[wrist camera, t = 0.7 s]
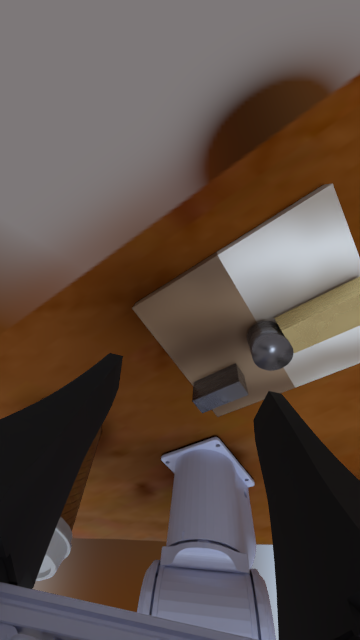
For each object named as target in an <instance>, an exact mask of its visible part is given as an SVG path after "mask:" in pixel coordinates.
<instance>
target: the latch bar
mask: <svg viewBox="0 0 360 640" xmlns="http://www.w3.org/2000/svg"><path fill="white" fill-rule="evenodd" d="M274 319H275V320H276V322H277V323H275V322H273V321H260V322H258V323H256V324H254V325H253V326H252V327H251V328H250V329H249V331H248V333H247V341H248V345H249V348H250V352H251V355H252V359H253V361H254V363H255V364H256V365H257V366H258V367H259V368H261V369H263V370H268V371H274V370H279V369H281V368H283V367H285V366H286V365H288V364H289V363H290V361H291V360H292V358H293V353H297V352H299V351H301V350H304V349H306V348H308V347H311V346H313V345H315V344H318V343H320V342H322V341H325V340H327V339H329V338H332V337H334V336H336V335H339V334H341V333H343V332H346V331H348V330H351V329H353V328H355V327H358V326H360V277H358V278H356V279H354V280H352V281H349V282H347V283H345V284H343V285H341V286H339V287H337V288H335V289H333V290H331V291H329V292H327V293H325V294H323V295H321V296H319V297H317V298H315V299H313V300H310V301H308V302H306V303H304V304H302V305H300V306H298V307H296V308H294V309H292V310H290V311H288V312H286V313H284V314H282V315H280V316H278V317H276V318H274Z"/></svg>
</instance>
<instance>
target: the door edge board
mask: <svg viewBox="0 0 360 640" xmlns="http://www.w3.org/2000/svg"><path fill="white" fill-rule="evenodd" d="M358 277H360V258H359V255H358V252H357V249H356V247H355V244H354V241H353V238H352V236H351V233H350V230H349V227H348V225H347V222H346V219H345V217H344V214H343V211H342V208H341V206H340V203H339V200H338V197H337V195H336V192H335V189H334V186H333V184H326V185H323V186H321V187H319V188H318V189H316V190H315V191H313V192H312V193H310V194H308V195H307V196H305V197H304V198H302V199H300V200H299V201H297V202H296V203H294V204H292V205H291V206H289V207H288V208H286V209H284V210H283V211H281V212H280V213H278V214H276V215H275V216H273V217H272V218H270V219H269V220H267V221H265V222H264V223H262V224H261V225H259V226H257V227H256V228H254V229H253V230H251V231H249V232H248V233H246V234H245V235H243V236H241V237H240V238H238V239H237V240H235V241H234V242H232V243H230V244H229V245H227V246H226V247H224V248H222V249H221V250H219V251H218V252H216V253H214V254H213V255H211V256H210V257H208V258H206V259H205V260H203V261H202V262H200V263H198V264H197V265H195V266H194V267H192V268H191V269H189V270H187V271H186V272H184V273H183V274H181V275H179V276H178V277H176V278H175V279H173V280H171V281H170V282H168V283H167V284H165V285H163V286H162V287H160V288H159V289H157V290H156V291H154V292H152V293H151V294H149V295H148V296H146V297H144V298H143V299H141V300H140V301H138V302H136V303H135V305H134V306H133V308H132V309H133V310H134V312H135V313H136V314H137V315H138V317H139V318H140V319H141V321H142V322H143V323H144V324H145V326H146V327H147V328H148V329H149V331H150V332H151V333H152V334H153V336H154V337H155V338H156V340H157V341H158V342H159V343H160V345H161V346H162V347H163V348H164V350H165V351H166V352H167V353H168V355H169V356H170V357H171V359H172V360H173V361H174V362H175V364H176V365H177V366H178V367H179V369H180V370H181V371H182V373H183V374H184V375H185V376H186V378H187V379H188V380H189V381H190V383H191V384H192V385H193V384H194V382H195V381H197V380H199V379H202V378H204V377H206V376H208V375H210V374H213V373H215V372H217V371H219V370H222V369H224V368H226V367H228V366H230V365H233V364H235V363H236V364H237V365H238V367H239V368H240V370H241V371H242V373H243V374H244V376H245V381H246V385H247V390H248V394H249V395H247V396H244V397H242V398H239V399H237V400H234V401H232V402H229V403H227V404H224V405H222V406H219V407H216V408H214V409H212V411H213V412H214V413H215V414H216V416H217V417H219V416H222V415H224V414H227V413H229V412H232V411H235V410H237V409H240V408H243V407H245V406H248V405H250V404H253V403H256V402H258V401H261V400H264V399H265V397H266V395H267V393H268V391H272V392H276V393H282V392H285V391H287V390H290V389H293V388H295V387H298V386H301V385H303V384H306V383H308V382H311V381H314V380H316V379H319V378H322V377H324V376H327V375H329V374H332V373H335V372H337V371H340V370H343V369H345V368H348V367H351V366H353V365H356V364H358V363H360V326H358V327H355V328H353V329H351V330H348V331H346V332H343V333H341V334H339V335H336V336H334V337H332V338H329V339H327V340H325V341H322V342H320V343H318V344H315V345H313V346H311V347H308V348H306V349H304V350H301V351H299V352H297V353H293V358H292V360H291V361H290V363H289V364H288V365H286V366H285V367H283V368H281V369H279V370H274V371H268V370H263V369H261V368H259V367H258V366H257V365H256V364H255V363H254V361H253V359H252V355H251V352H250V348H249V345H248V341H247V333H248V331H249V329H250V328H251V327H252V326H253V325H254V324H256V323H258V322H260V321H273V322H275V323H277V322H276V320H275V319H274V318H276V317H278V316H280V315H282V314H284V313H286V312H288V311H290V310H292V309H294V308H296V307H298V306H300V305H302V304H304V303H306V302H308V301H310V300H313V299H315V298H317V297H319V296H321V295H323V294H325V293H327V292H329V291H331V290H333V289H335V288H337V287H339V286H341V285H343V284H345V283H347V282H349V281H352V280H354V279H356V278H358Z"/></svg>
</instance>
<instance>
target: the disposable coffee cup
mask: <svg viewBox="0 0 360 640" xmlns="http://www.w3.org/2000/svg"><path fill="white" fill-rule="evenodd" d="M101 432H102V427H100V429H99V431H98V433H97V435H96V437H95V439H94V440H93V442H92V444H91V446H90V448H89V450H88V452H87V454H86V456H85V458H84V460H83V463H82V465H81V467H80V470H79V472H78V474H77V477H76V479H75V482H74V484H73V486H72V489H71V491H70V494H69V496H68V499H67V501H66V504H65V506H64V509H63V511H62V514H61V516H60V519H59V521H58V524H57V526H56V529H55V531H54V534H53V536H52V539H51V542H50V544H49V547H48V549H47V552H46V555H45V557H44V560H43V563H42V565H41V568H40V571H39V573H38V576H37V579H36V581H41V580H44V579H48V578H51V577H52V576H53V575H54V574H55V572H56V570H57V569H58V567H59V565H60V564H61V562H62V560H63V559H65V558H66V557H67V556H68V555H69V554H70V550H71V546H72V545H71V539H72V529H73V525H74V522H75V518H76V515H77V512H78V509H79V505H80V502H81V499H82V495H83V492H84V488H85V486H86V481H87V479H88V475H89V472H90V468H91V465H92V462H93V458H94V455H95V451H96V448H97V445H98V441H99V438H100V435H101Z"/></svg>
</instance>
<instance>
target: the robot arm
mask: <svg viewBox="0 0 360 640" xmlns="http://www.w3.org/2000/svg"><path fill="white" fill-rule="evenodd" d="M122 358H123V356H120V355H116V354H112V353H110V354H108V355H107V356H105V357H104V358H103V359H102V360H101V361H99V362H98V363H97V364H95V365H94V366H93V367H92V368H90V369H89V370H87V371H86V372H85V373H83V374H82V375H81V376H79V377H78V378H76V379H75V380H73V381H72V382H70V383H69V384H67V385H66V386H64V387H63V388H61V389H59V390H58V391H56V392H54V393H53V394H51V395H49V396H48V397H46V398H44V399H42V400H40V401H38V402H36V403H35V404H32V405H30V406H28V407H26V408H24V409H22V410H20V411H18V412H16V413H14V414H12V415H9V416H7V417H5V418H2V419H0V640H276V638H275V630H274V623H273V617H272V611H271V606H270V601H269V595H268V591H267V587H266V584H265V581H264V580H263V578H262V577H261V576H260V575H259V572H258V571H257V570H256V569H251V567H252V565H253V562H254V558H255V552H256V540H255V533H254V526H253V520H252V513H251V506H250V499H249V492H248V487H251V486H254V484H255V483H254V480H253V479H252V478H251V476H250V475H249V474H248V473H247V472H246V470H245V469H244V468H243V467H242V466H241V464H240V463H239V462H238V461H237V459H236V458H235V457H234V456H233V455H232V453H231V452H230V451H229V450H228V449H227V447H226V446H225V445H224V444H223V442H222V441H221V440H220V439H219V438H218V437H213V438H210V439H207V440H204V441H202V442H199V443H196V444H193V445H190V446H187V447H184V448H182V449H179V450H176V451H173V452H170V453H167V454H165V455H162V457H161V460H162V462H163V463H164V464H165V465H166V466H167V467H168V468H169V469H170V470H171V471H172V472H173V473H174V483H173V492H172V501H171V510H170V519H169V527H168V536H167V545H166V547H165V546H163V547H162V554H161V561H160V560H154V561H153V562H152V565H151V566H150V567H149V568H148V570H147V571H146V573H145V576H144V580H143V583H142V588H141V593H140V598H139V604H138V610H137V613H136V612H132V611H128V610H123V609H119V608H114V607H109V606H105V605H101V604H96V603H92V602H87V601H83V600H78V599H73V598H69V597H65V596H60V595H56V594H52V593H47V592H43V591H38V590H34V589H32V588H33V587H34V584H35V581H36V579H37V576H38V573H39V571H40V568H41V565H42V563H43V560H44V557H45V555H46V552H47V549H48V547H49V544H50V542H51V539H52V536H53V534H54V531H55V529H56V526H57V524H58V521H59V519H60V516H61V514H62V511H63V509H64V506H65V504H66V501H67V499H68V496H69V494H70V491H71V489H72V486H73V484H74V482H75V479H76V477H77V474H78V472H79V470H80V467H81V465H82V463H83V460H84V458H85V456H86V454H87V452H88V450H89V448H90V446H91V444H92V442H93V440H94V439H95V437H96V435H97V433H98V431H99V429H100V427H101V425H102V423H103V422H104V420H105V418H106V416H107V414H108V412H109V410H110V408H111V406H112V403H113V401H114V398H115V396H116V393H117V391H118V388H119V380H120V373H121V365H122ZM254 432H255V442H256V447H257V451H258V456H259V461H260V466H261V470H262V475H263V479H264V484H265V488H266V493H267V499H268V505H269V513H270V522H271V530H272V540H273V550H274V561H275V575H276V589H277V608H278V627H279V640H360V481H359V480H358V479H357V478H356V477H355V476H354V475H353V474H352V473H351V472H350V471H349V470H348V469H347V468H346V467H345V466H344V465H343V464H342V463H341V462H340V461H339V460H338V459H337V458H336V457H335V456H334V455H333V454H332V453H331V452H330V451H329V449H328V448H327V447H326V446H325V445H324V444H323V443H322V442H321V441H320V439H319V438H318V437H317V436H316V435H315V434H314V433H313V431H312V430H311V429H310V428H309V427H308V425H307V424H306V423H305V422H304V421H303V419H302V418H301V417H300V416H299V415H298V413H297V412H296V411H295V410H294V408H293V407H292V406H291V405H290V404H289V402H288V401H287V400H286V399H285V398H284V396H283V395H282V394H280V393H276V392H272V391H268V393H267V395H266V397H265V399H264V401H263V403H262V405H261V407H260V408H259V410H258V412H257V414H256V416H255V418H254Z"/></svg>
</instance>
